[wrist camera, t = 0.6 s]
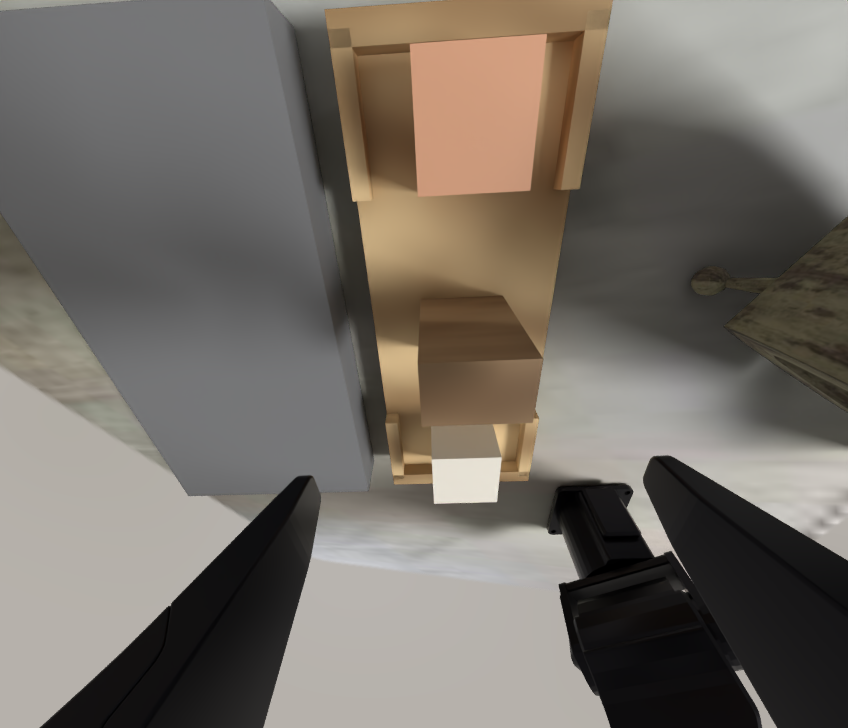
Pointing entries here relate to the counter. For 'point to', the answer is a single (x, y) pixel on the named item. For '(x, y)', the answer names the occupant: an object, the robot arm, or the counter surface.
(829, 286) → the tabletop clock
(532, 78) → the block
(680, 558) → the robot arm
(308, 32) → the counter surface
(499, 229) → the tray
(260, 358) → the grey flat slab
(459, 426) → the block
